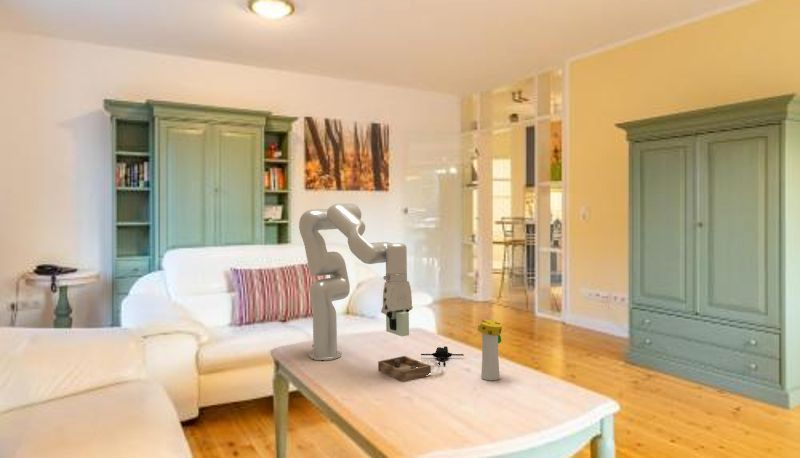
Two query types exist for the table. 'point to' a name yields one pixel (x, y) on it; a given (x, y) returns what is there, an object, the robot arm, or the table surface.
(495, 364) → the toy
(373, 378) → the table surface
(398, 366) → the brown wooden shallow tray
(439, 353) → the toy
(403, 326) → the light green rectangular block
